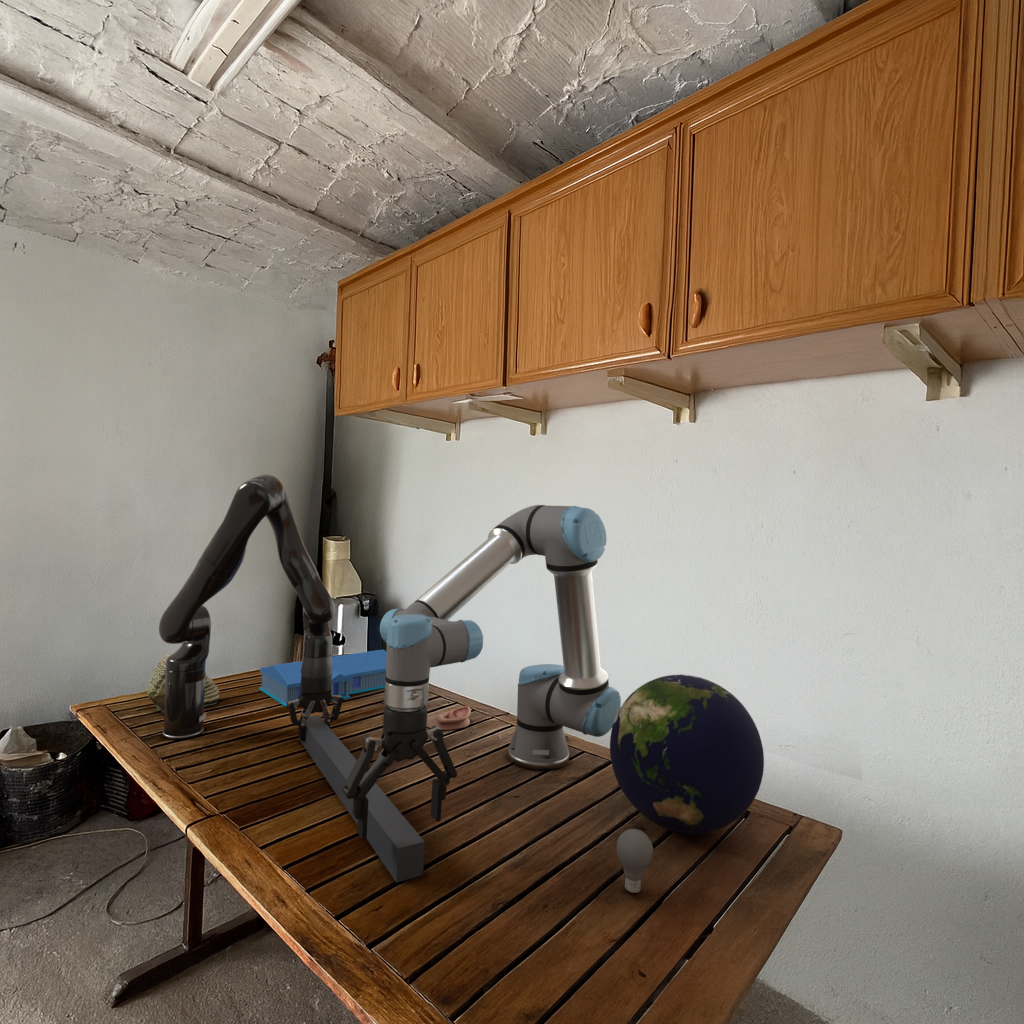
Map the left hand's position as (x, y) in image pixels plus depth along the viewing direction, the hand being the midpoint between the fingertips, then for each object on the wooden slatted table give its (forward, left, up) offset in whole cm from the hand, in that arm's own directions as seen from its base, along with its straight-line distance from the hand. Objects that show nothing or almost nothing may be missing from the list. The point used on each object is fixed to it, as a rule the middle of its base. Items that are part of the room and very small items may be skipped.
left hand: (314, 738), depth 161 cm
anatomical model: (+8, +36, -2) cm, 37 cm away
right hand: (+58, -12, +5) cm, 59 cm away
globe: (+82, +39, -2) cm, 91 cm away
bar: (+29, -6, -2) cm, 29 cm away
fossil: (-49, -17, -2) cm, 52 cm away
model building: (-40, +26, -2) cm, 48 cm away
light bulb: (+89, +13, -2) cm, 90 cm away
